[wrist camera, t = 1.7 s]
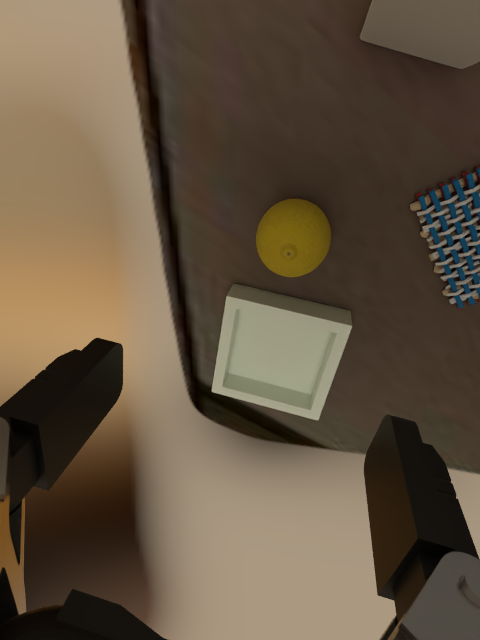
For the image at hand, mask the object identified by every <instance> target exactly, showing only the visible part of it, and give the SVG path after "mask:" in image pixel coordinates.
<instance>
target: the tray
mask: <svg viewBox="0 0 480 640" xmlns="http://www.w3.org/2000/svg"><path fill="white" fill-rule="evenodd" d="M351 328H352V319H351V311H350V310H346V309H341V308H337V307H333V306H329V305H325V304H320V303H316V302H312V301H308V300H303V299H299V298H295V297H291V296H286V295H282V294H278V293H274V292H269V291H265V290H261V289H257V288H252V287H248V286H244V285H240V284H236V283H234V284H233V286H232V288H231V289H230V291H229V293H228V294H227V297H226V303H225V310H224V316H223V322H222V329H221V335H220V341H219V348H218V354H217V360H216V367H215V373H214V379H213V386H212V392H214V393H218V394H222V395H225V396H229V397H233V398H236V399H240V400H244V401H248V402H251V403H255V404H259V405H262V406H266V407H270V408H273V409H277V410H281V411H285V412H288V413H292V414H296V415H299V416H303V417H307V418H310V419H314V420H318V419H319V417H320V414H321V411H322V408H323V406H324V403H325V400H326V397H327V395H328V392H329V389H330V386H331V383H332V381H333V378H334V375H335V372H336V370H337V367H338V364H339V361H340V359H341V356H342V353H343V350H344V348H345V345H346V342H347V339H348V337H349V334H350V331H351Z"/></svg>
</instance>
